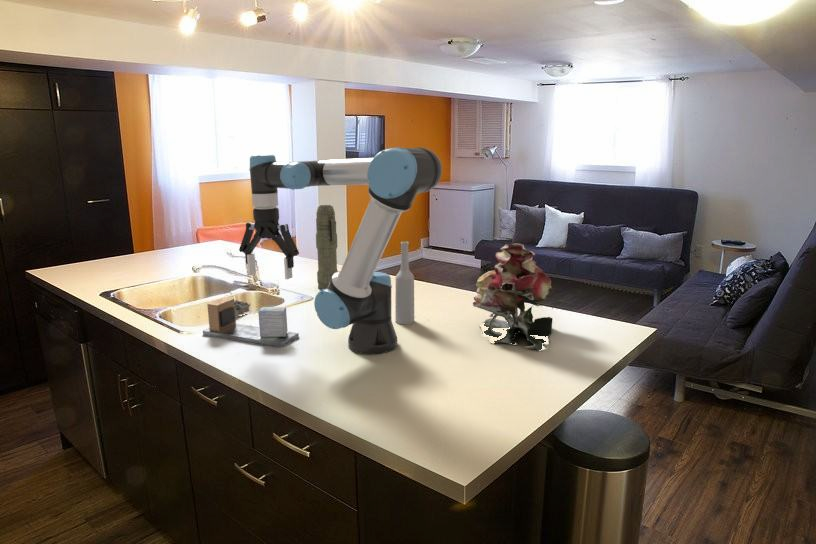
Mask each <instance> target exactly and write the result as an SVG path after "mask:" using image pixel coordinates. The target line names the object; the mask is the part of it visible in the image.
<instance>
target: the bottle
mask: <svg viewBox="0 0 816 544" xmlns="http://www.w3.org/2000/svg"><path fill="white" fill-rule="evenodd" d="M400 244H401V245H400V252H401V253H400V269H399V271H398V273H397V274H396V275H395V292H394V293H395V295H394V296H395V297H394V298H395V307H394V308H395V313H394V314H395V315H394V316H395V323H396V324H399V325H404V324H405V325H411V323H412V324H413V323H415V276H414V274H413V273H412V272H411V270H410V264H409V263H410V262H409V244H410V243H409V241H401V242H400Z"/></svg>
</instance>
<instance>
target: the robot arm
mask: <svg viewBox="0 0 816 544" xmlns="http://www.w3.org/2000/svg"><path fill="white" fill-rule="evenodd" d="M248 171H249V174H250V187H251V189H250V190H251V205H252V207H253V209H252V213H253V214H252V216H253V220H254V221H251V222H245V223H246V224H245V231H244V234H243V237H242V241H241V242H240V244H239V245H240V246H239V249H238V250H239V252H240V253H243V254H244V255H245V256H244V257H245V265H247V272H248V274H247V275H248V276H249V277H250V276H253V275H256V274H257V269H256V255H255V253H254V250H255V249H256V247H257V246H258V244H259V243H260V241H261V239H268V240H270V239H271V240H272V241H274V242H275V244H276V245H277V246H278V248H279V250H281V252H282V253H283V254H284V256H285V257H284V258H283V263H284V264H283V265H284V266H283V267H284V279H285V280H289V279H291V278H293V268H294V266H295V265H294V263H295V262H294V261H295V260H294V257H296V256H298V255H300V252H299V249H298V247H297V245H296V243H295V240H294V239H293V237H292V234H291V232H290V229H289V224H288V223H284V224H280V223H279V220H280V209H279V208H278V206H279V198H278V197H279V195H278V191H279V190H278V189H287V190H288V189H289V190H302V189H305V188H308V187H318V186H319V187H320V186H361V185H362V186H369V187H368V189H367V193H368V195H369V198H370V200H369V202H368V205H367V207H366V209H365V212H364V215H363V216H362V219H361V221H360V224H359V226H358V229H357V232H356V234H355V236H354V237H353V240H352V243H351V245H350V248H349V250H348V253H347V255H346V257H345V259H344V262H343V264H342V267H341V269H340V270H339V271H338V272H336V273H334V274H333V276H332V278H331V280H330V283H329V285H328V287H327V288H326V289H323V290H320V291H319V292H318V293H316V294H315V297H314V301H313V302H314V303H313V305H314V310H315V312H316V316H317V317H318V319H319V320H320V322H321V323H322V324H323V325H324V326H326V327H327V328H328V329H332V330H340V329H342V328H347V327H349V326H350V325H352V326H351V327H350V331H349V335H348V339H347V346H348V349H350V350H351V351H353V352H356V353H359V354H363V355H365V354H366V355H376V354H384V353H388V352H391V351H393V350H395V349H396V348H397V347H398V336H397V332H396V329H395V328H394V324H393V319H392V287H393V285H392V278H391V276H390V275H389V274H388V273H386V272H381V271H377V268H378V265H379V263H380V261H381V258H382V257H383V254H384V252H385V249H386V248H387V246H388V243H389V241H390V239H391V236H392V234H393V232H394V230H395V229H396V226H397V224H398V222H399V219H400V217H401V215H402V214H403V213H405V212H408V211H409V210H410V209H411V208H412V206H413V203H414V201H415V199H416V196H417V194H423V193H427V192H429V191H431V190H433V189H434V188H435V187H436V186H437V185H438V184H439V182H440V181H441V179H442V174H443V165H442V162H441V159H440V158H439V156H438V155H437V154H436V153H435V152H434V151H432V150H431V149H428V148H426V147H398V146H397V147H391V148H386V149H383V150H381V151H379V152H378V153H377V154H375V156H373V157H363V158H362V157H361V158H359V157H358V158H341V159H318V160H304V161H300V160H299V161H277V160H276V156H275V155H274V154H252V155H251V156H250V157H249V170H248ZM254 231H255V233H254ZM253 233H254V235H253Z"/></svg>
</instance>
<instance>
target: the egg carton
mask: <svg viewBox="0 0 816 544" xmlns="http://www.w3.org/2000/svg"><path fill="white" fill-rule="evenodd" d="M234 305H235V318H238V317H239V315H244V314H245V313H248V312H250V307H251V305H252V304H251V303H248V302H247V301H246V302H245V301H242V300H238V299H234Z"/></svg>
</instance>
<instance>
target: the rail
mask: <svg viewBox="0 0 816 544" xmlns="http://www.w3.org/2000/svg"><path fill="white" fill-rule="evenodd" d="M234 301H235V298H230V297H222V298H219V299H217V300H214V301H211V302H209V303H206V304H207V316H208V326H209V327H207V328H206V329H203V330H202V336H206V337H213V338H219V339H224V340H231V341H236V342H242V343H248V344H254V345H259V346H265V347H266V346H267V347H272V348H278V349H281V348H283V347H285V346H287V345H289V344H290V343H292V342H294V341H295V340H297V339H299V337H300V336H299V332H293V331H288V332H287V334H286V336H285V337H260V327H259V326H254V325H247V324H242V323H241V324H240V323H237V320H236V318H237V317H235V305H234Z"/></svg>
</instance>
